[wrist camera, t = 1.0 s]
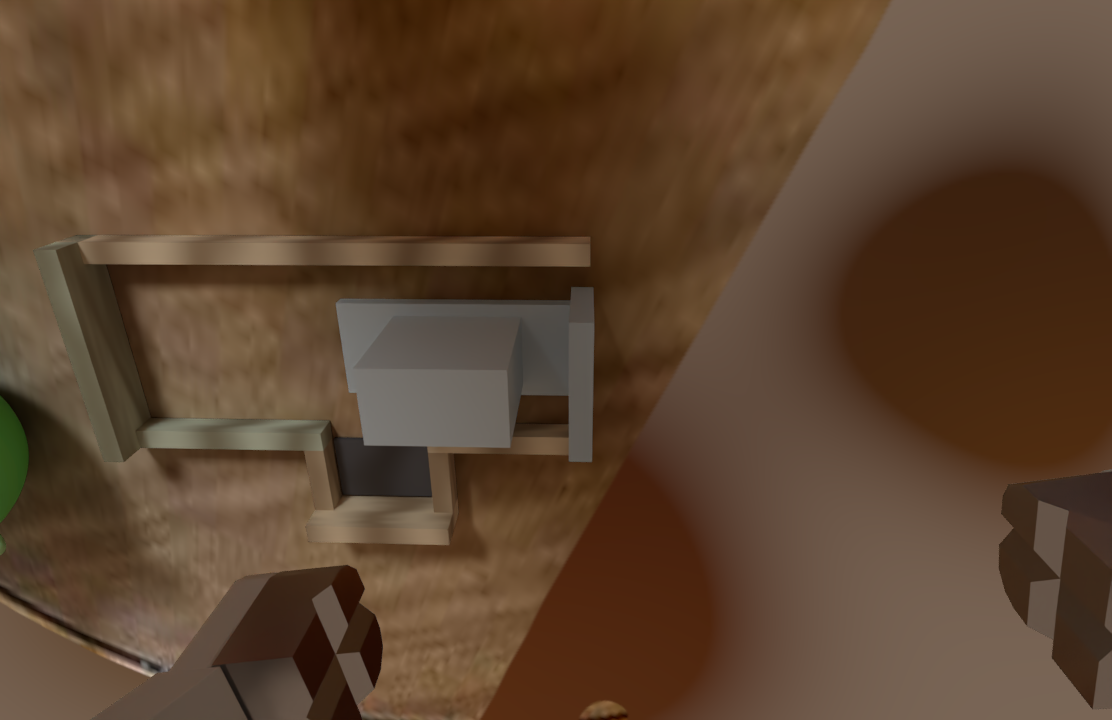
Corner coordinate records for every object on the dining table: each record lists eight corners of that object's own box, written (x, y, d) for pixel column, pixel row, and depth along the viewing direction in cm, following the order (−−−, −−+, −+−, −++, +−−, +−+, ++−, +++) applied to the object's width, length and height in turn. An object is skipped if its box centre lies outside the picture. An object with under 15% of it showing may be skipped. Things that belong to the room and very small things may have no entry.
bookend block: (593, 281, 46) (594, 335, 37) (591, 404, 50) (592, 479, 41) (338, 280, 47) (278, 332, 38) (356, 400, 51) (305, 474, 42)
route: (590, 236, 45) (590, 252, 41) (586, 515, 54) (586, 548, 51) (76, 235, 46) (32, 249, 43) (159, 506, 56) (129, 537, 52)
